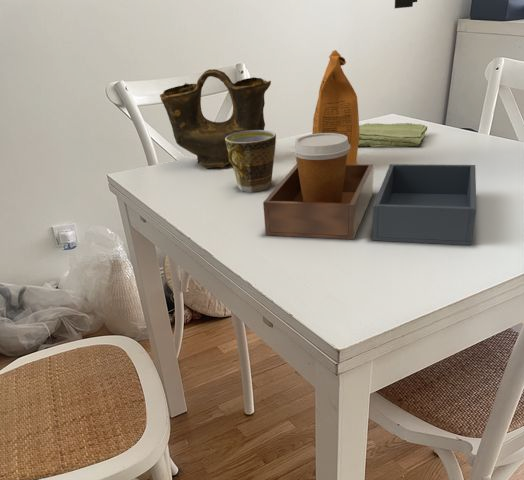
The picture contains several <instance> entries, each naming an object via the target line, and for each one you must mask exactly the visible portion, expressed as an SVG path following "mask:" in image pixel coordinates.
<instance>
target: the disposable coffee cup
mask: <svg viewBox="0 0 524 480" xmlns="http://www.w3.org/2000/svg"><path fill="white" fill-rule="evenodd" d="M294 141H295V142H294V147H293V148H292V152H293V153H294V156H295V159H296V164H297V166H298V172H299V178H300V184H301V191H302V197H303V202H320V203H341V200H342V192H343V184H344V177H345V169H346V162H347V153H348V152H349V149H350V147H351V146H350V144H349V143H348V138H347V136H345V135H342V134H336V133H318V134H311V133H310V134H306V135H303V136H299V137H298V138H296V139H295V140H294Z"/></svg>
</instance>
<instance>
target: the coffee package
mask: <svg viewBox="0 0 524 480" xmlns="http://www.w3.org/2000/svg"><path fill="white" fill-rule="evenodd" d="M328 59H329V61H328V63H327V66H326V68H325V71H324V74H323V76H322V79H321V82H320V85H319V90H318V97H317V100H316V105H315V110H314V113H313V119H312V134H318V133H336V134H342V135H345V136H347V138H348V143H349V144H350V146H351V147H350V149H349V152H348V153H347V162H346V164H357V160H358V150H359V146H358V145H359V126H360V118H359V116H360V115H359V103H358V96H357V93H356V91H355V89H354V87H353V86H352V84H351V82H350V80H349V79H348V77H347V76H346V74H345V72H344V69H343V68H342V66H345V65H346V63H347V61H346V58H345V57H343V56H342V54H340V53H339V52H338V50H336V49H334V50H332V51H331V53H330V55H329V56H328Z"/></svg>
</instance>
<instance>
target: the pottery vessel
mask: <svg viewBox="0 0 524 480" xmlns="http://www.w3.org/2000/svg"><path fill="white" fill-rule="evenodd" d="M208 78H216V79H218V80H219V81H220V82H222V83H223V85H224V86H225V88H227V91H228V94H229V95H230V99H231V104H232V113H231V115H230V118H228V119H227V120H225V121H212V120H209V119H208V118H206V117H205V116H204V114H203V111H202V91H203V87H204V85H205V82H206V81H207V80H208ZM271 84H272V81H271V80H268V81H267V80H265V79H263V78H261V77H254V76H252V77H250V78H249V77H248V78H244V79H241V80H238V81H236V82H232V80H231V78H230V77H229V75H227V74H226V73H225V72H224V71H222V70H219V69H215V68H214V69H212V68H211V69H207V70H205V71H204V72H203V73H202V74H201V75H200V77H199V78H198V79H197V82H196V83H187V82H185V83H184V84H183V85H177V86H174V87H170V88H167V89H165V90H163V92H162V93H161V94H159V97H160V101H161V102H162V104H163V107H164V109H165V111H166V114H167V116H168V120H169V123H170V125H171V128H172V134H173V137H174V139H175V143H176V144H177V145H178V146H179V147H180V148H182V149H184V150H186V151H188V152H189V153H190V154H193V155H195V156H196V158H197V164H198V165H199V164H200V163H201V164H200V165H201V166H202V167H203V168H204V169H211V168H216V167H218V168H224V167H225V166H226V165H228V164H230V161H229V153H228V149H227V145H226V141H225V138H226V137H227V136H229V135H231V134H234V133H238V132H243V131H250V130H265V127H266V122H265V116H264V109H265V103H266V101H265V93H266V92H267V90H268V89H269V88H270V86H271Z"/></svg>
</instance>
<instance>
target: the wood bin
mask: <svg viewBox="0 0 524 480" xmlns="http://www.w3.org/2000/svg"><path fill="white" fill-rule="evenodd" d="M374 168H375V164H374V163H356V164H346V169H345V177H344V184H343V192H342V200H341V203H320V202H303V197H302V191H301V184H300V178H299V172H298V166H297V163H296V164H295V165H294V166H293V167H292V168H291V169H290V170H289V172H288V173H287V174H286V175H285V177H284V178H282V180H281V181H280V182H279V184H277V186H275V188H274V190H272V191H271V192H270V194H269V195H268V196H267V197H266V198H265V199H264V201H262V202H263V203H262V206H263V215H264V216H263V217H264V229H265V230H264V231H265V236H275V237H276V236H277V237H278V236H279V237H295V238H296V237H298V238H318V239H337V240H338V239H339V240H355V237H356V234H357V231H358V230H359V226H360V225H361V223H362V220H363V219H364V218H363V217H364V215H365V213H366V210H367V208H368V206H369V203H370V201H371V198H372V196H373V194H374V170H375V169H374Z"/></svg>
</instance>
